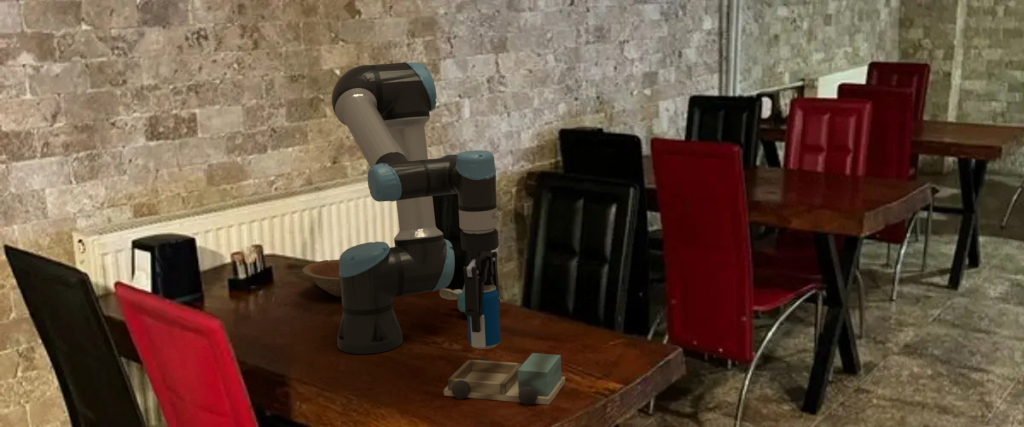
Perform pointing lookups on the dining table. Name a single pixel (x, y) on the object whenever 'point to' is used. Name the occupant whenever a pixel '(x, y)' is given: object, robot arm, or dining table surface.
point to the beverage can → (489, 317)
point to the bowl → (325, 275)
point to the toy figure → (455, 296)
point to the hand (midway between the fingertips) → (484, 340)
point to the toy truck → (509, 380)
